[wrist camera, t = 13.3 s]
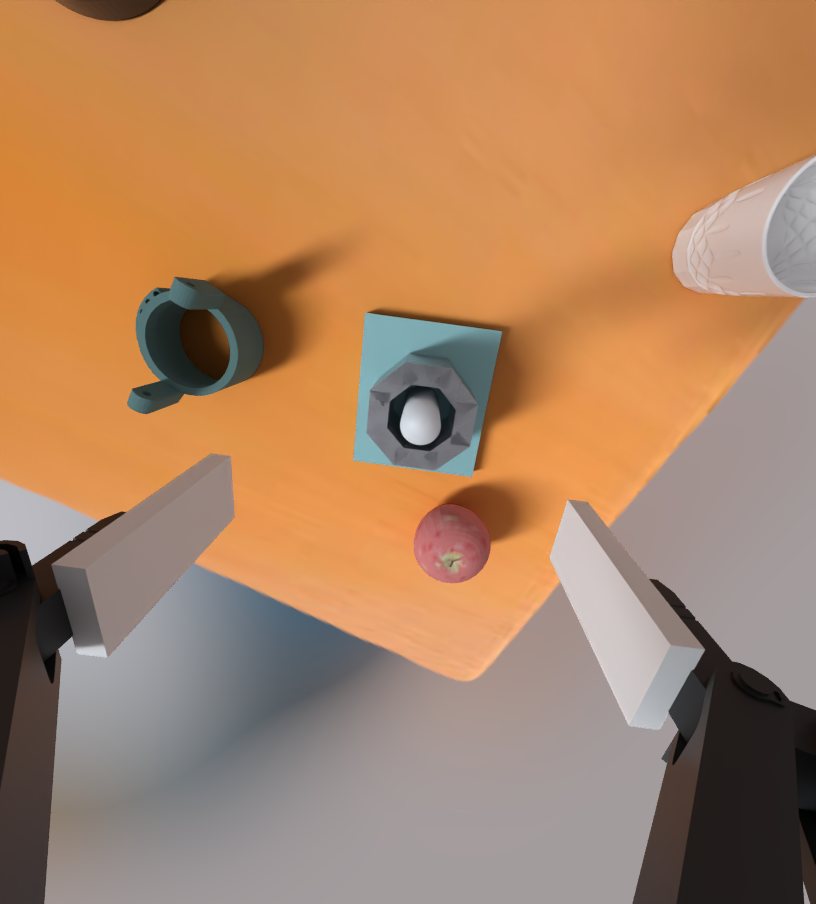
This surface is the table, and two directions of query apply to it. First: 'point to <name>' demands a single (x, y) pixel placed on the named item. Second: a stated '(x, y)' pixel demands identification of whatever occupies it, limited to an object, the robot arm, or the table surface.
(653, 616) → the robot arm
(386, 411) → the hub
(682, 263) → the white cup
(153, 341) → the bracket
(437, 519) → the apple
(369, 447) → the stand
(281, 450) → the table surface
